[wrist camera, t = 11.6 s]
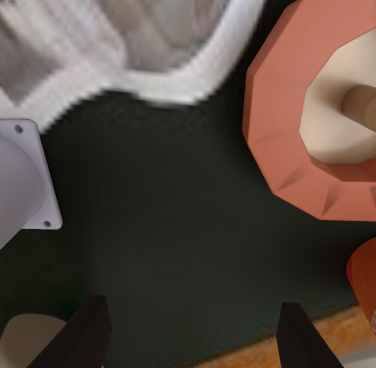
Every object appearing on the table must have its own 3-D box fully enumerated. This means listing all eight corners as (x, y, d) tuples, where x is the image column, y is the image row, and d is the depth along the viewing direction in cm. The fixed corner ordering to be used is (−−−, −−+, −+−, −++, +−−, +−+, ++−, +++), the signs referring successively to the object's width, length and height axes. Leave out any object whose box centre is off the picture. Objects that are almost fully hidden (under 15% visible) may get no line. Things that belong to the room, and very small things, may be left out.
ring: (236, 197, 18) (240, 218, 16) (254, -34, 12) (264, -50, 10) (431, 201, 17) (463, 224, 15) (540, -43, 12) (614, -62, 10)
